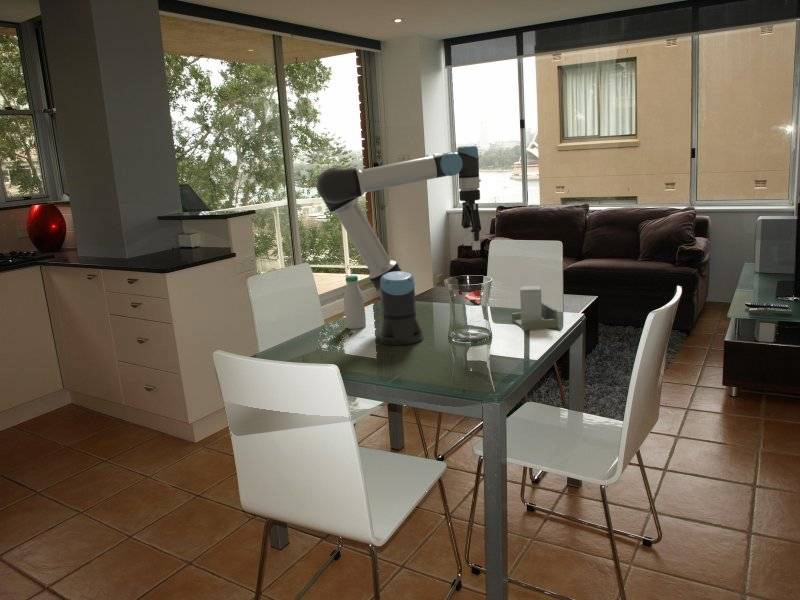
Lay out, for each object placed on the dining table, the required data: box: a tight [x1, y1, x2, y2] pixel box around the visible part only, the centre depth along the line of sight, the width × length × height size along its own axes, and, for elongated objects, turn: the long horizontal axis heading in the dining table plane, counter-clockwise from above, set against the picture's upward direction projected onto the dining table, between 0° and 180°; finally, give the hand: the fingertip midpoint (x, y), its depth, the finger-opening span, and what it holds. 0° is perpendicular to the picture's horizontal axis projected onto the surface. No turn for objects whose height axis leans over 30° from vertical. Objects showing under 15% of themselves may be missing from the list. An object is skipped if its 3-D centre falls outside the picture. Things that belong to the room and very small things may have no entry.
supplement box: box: [519, 285, 542, 324], centre depth 235 cm, size 7×7×13 cm
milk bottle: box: [343, 275, 367, 330], centre depth 250 cm, size 8×8×20 cm
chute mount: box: [511, 302, 559, 332], centre depth 235 cm, size 12×15×6 cm
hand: (471, 247), depth 240 cm, fingers open, 13 cm apart
